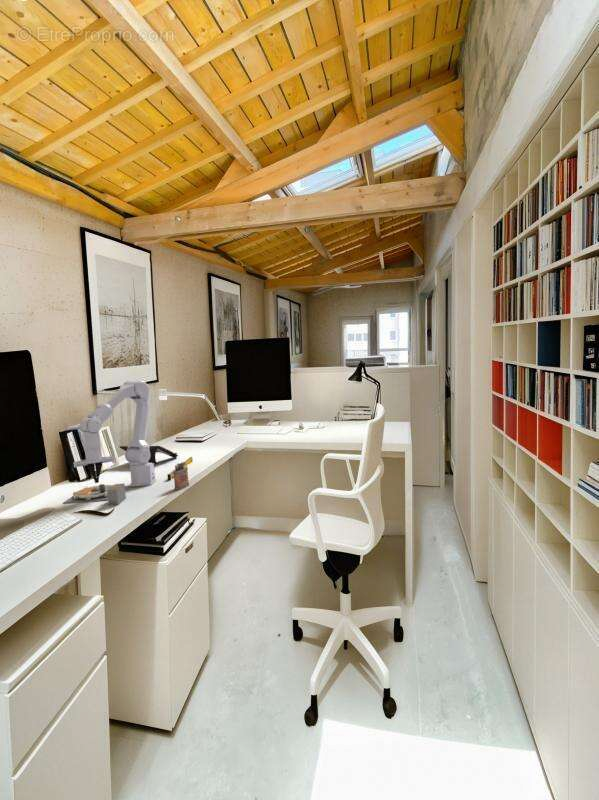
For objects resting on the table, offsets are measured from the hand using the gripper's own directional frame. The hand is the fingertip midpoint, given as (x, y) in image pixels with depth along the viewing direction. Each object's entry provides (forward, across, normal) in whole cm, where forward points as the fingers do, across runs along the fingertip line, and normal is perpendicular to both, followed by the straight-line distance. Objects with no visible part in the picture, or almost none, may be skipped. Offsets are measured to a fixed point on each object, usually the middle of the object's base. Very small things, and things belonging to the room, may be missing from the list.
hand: (96, 482), depth 179 cm
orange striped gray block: (+6, +6, -11) cm, 14 cm away
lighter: (+7, +31, -6) cm, 33 cm away
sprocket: (+6, -1, +5) cm, 8 cm away
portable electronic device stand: (+7, +26, +54) cm, 60 cm away
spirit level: (+7, +36, +23) cm, 43 cm away
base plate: (+6, -1, +5) cm, 8 cm away
